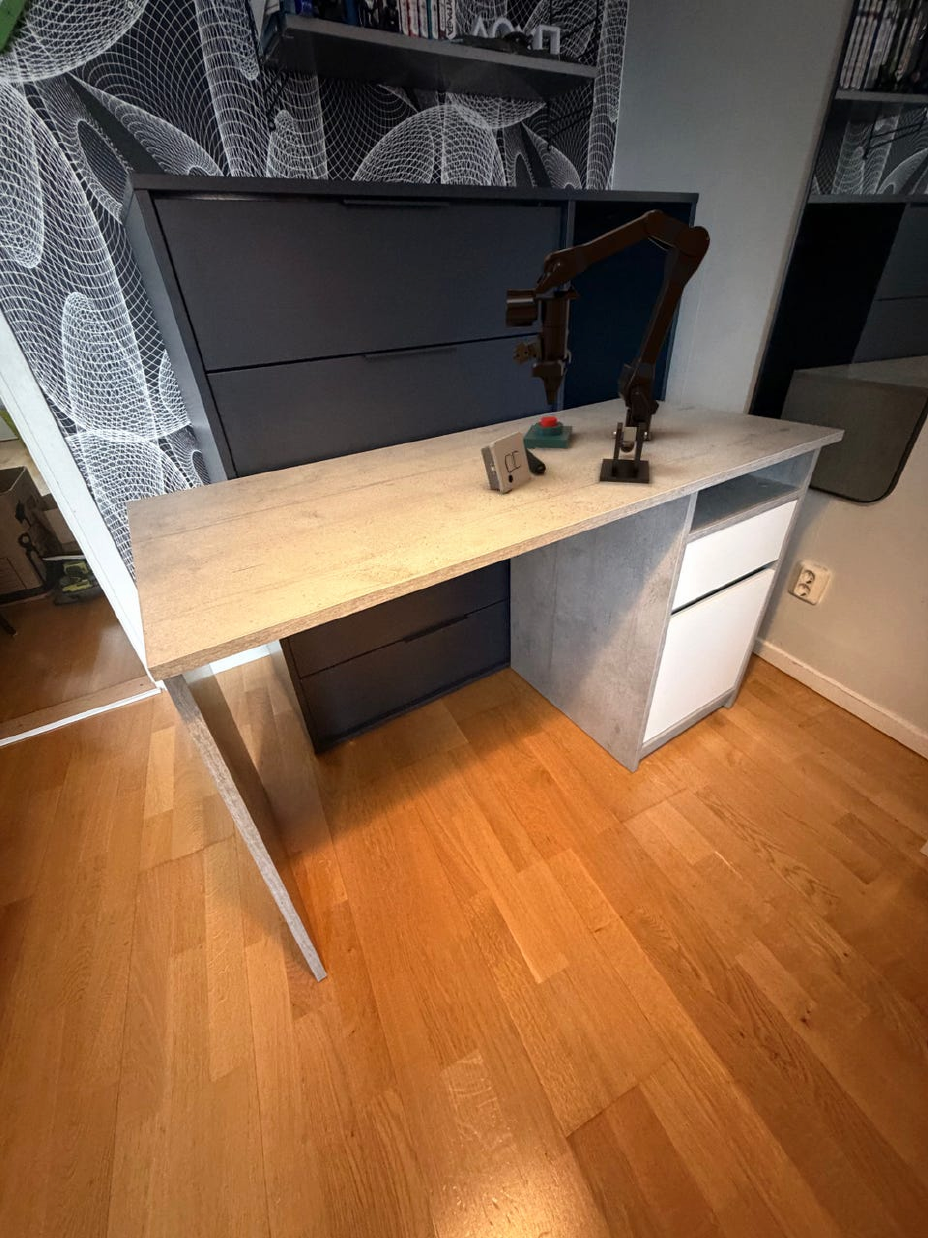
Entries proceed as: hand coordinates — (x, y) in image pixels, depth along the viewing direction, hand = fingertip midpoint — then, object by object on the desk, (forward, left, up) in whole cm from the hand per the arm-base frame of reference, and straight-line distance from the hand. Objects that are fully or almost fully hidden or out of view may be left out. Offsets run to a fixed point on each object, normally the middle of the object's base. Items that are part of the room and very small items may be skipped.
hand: (550, 404), depth 112 cm
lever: (+16, +18, -5) cm, 24 cm away
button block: (0, 0, -8) cm, 8 cm away
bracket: (+20, +18, -8) cm, 28 cm away
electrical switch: (+29, -4, -9) cm, 31 cm away
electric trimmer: (+17, -2, -9) cm, 19 cm away
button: (0, 0, -5) cm, 5 cm away
